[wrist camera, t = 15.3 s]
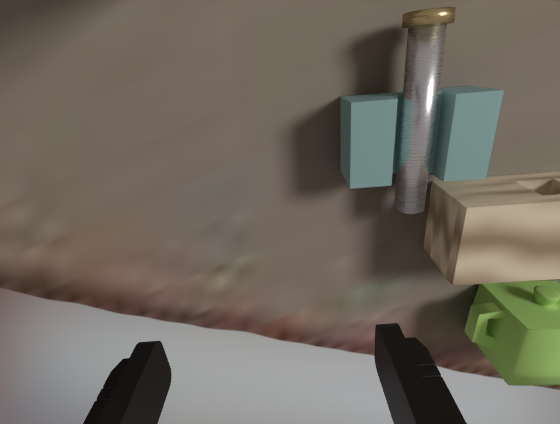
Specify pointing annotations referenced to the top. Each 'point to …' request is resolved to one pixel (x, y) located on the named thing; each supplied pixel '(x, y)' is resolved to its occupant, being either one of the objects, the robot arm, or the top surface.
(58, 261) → the top surface
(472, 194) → the beam
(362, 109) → the v block
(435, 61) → the axle
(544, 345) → the green cube pot
